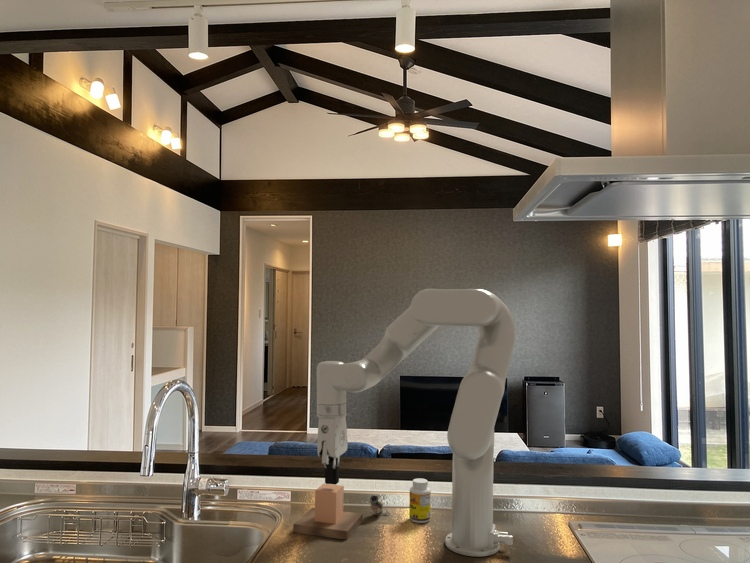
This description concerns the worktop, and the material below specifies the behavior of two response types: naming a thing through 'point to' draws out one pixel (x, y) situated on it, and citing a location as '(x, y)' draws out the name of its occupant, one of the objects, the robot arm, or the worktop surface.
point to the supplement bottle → (420, 501)
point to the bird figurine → (377, 506)
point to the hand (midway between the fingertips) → (331, 483)
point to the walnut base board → (328, 525)
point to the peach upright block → (329, 503)
